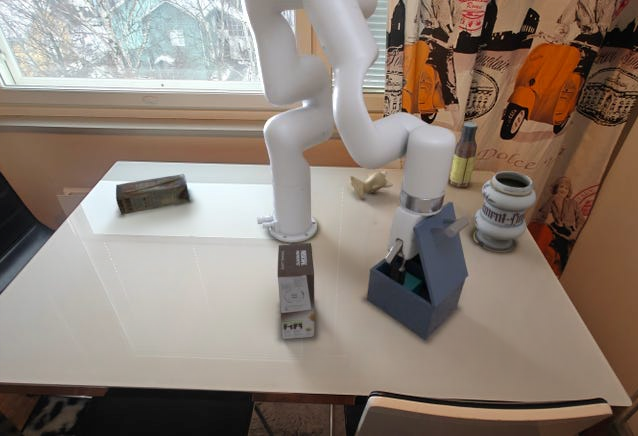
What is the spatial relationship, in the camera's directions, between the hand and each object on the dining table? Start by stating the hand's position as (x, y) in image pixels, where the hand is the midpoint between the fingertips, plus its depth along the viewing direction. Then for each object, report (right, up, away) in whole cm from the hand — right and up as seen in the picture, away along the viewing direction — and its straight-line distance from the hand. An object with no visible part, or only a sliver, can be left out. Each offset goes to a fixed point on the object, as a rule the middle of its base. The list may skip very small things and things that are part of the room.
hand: (408, 271), depth 78 cm
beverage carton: (-66, +15, +36) cm, 76 cm away
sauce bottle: (+27, +22, +46) cm, 57 cm away
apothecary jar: (+27, +5, +22) cm, 35 cm away
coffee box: (-22, -10, 0) cm, 24 cm away
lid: (+4, +4, -8) cm, 10 cm away
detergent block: (0, -6, +4) cm, 7 cm away
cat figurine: (-3, +18, +40) cm, 44 cm away
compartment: (+1, -7, +3) cm, 8 cm away
